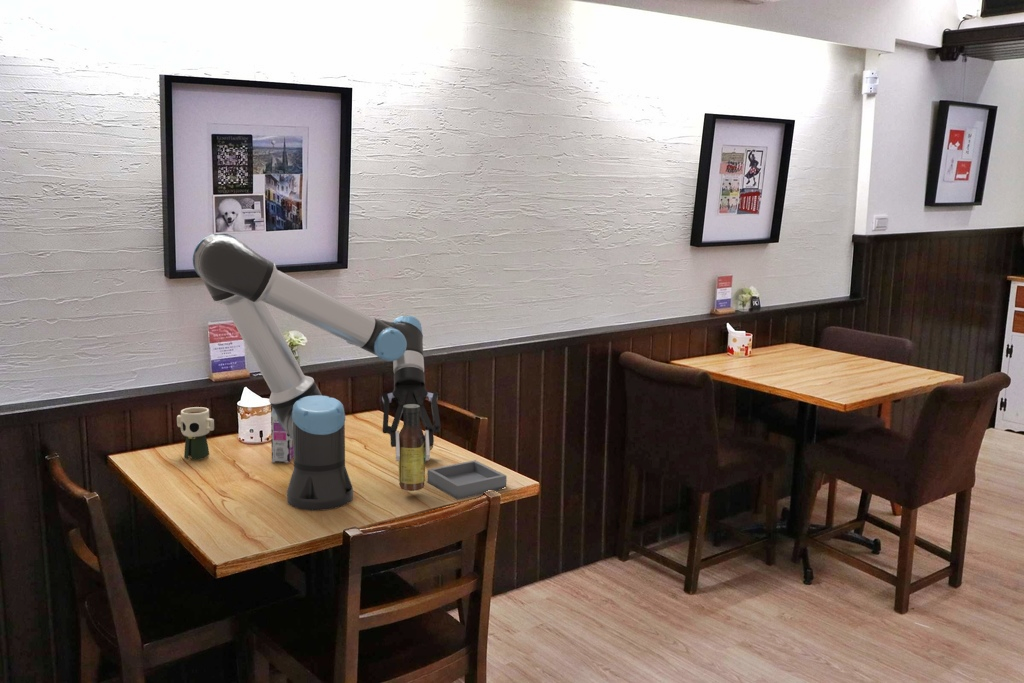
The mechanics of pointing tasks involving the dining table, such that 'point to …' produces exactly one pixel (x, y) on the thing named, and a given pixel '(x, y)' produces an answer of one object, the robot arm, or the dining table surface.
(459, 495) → the tray
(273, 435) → the candy bar box
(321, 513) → the dining table surface
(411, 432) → the sauce bottle
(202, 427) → the character mug
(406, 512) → the dining table surface
